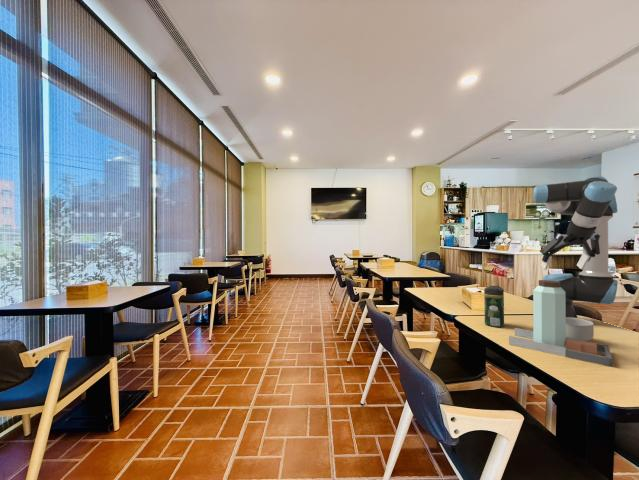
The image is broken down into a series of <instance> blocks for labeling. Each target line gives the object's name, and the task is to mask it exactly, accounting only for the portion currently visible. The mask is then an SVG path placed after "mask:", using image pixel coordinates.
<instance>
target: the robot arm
mask: <svg viewBox="0 0 639 480" xmlns="http://www.w3.org/2000/svg"><path fill="white" fill-rule="evenodd" d="M617 190H618V187H617V186H616V185H615V184H614V183H611V182H610V181H608V179H607V178H606V177H604V176H603V175H602V176H601V175H593V176H589V177H587V178H585V179H584V180H577V181H576V180H575V181H569V182H561V183H560V182H559V183H550V184H549V183H548V184H541V185H536V186H534V188H533V202H534V203H535V204H544V206H545V208H546V209H547V210H548V211H549V212H551V213H554V214H559V215H565V216H572V217H571V220H570V222H569V224H568V227H567V230H566V233H565V234H561V233H559V232H557V233H556V234H555V236H554V237H553V238H552V239H551V240H550V241H548V243H547V244H546V245H544V247H542V248H541V249H540V250H539V252H540V253H541V254H542V255H543V256H542V259H541V261H542V262H541V264H540V267H542V269H544V270H547V269H548V267H549V266H550V263H551V262H552V261H551V260H552V259H553V255H555V254H556V253H558V252H560V251H561V250H563V249H564V248H568V247H570V246H580V245H581V246H582V254H581V256H580V257H579V260H578V262H577V264H576V266H577V267H578V268H579V269H581V270H582V271H581V272H579V273H578V276H574V275H573V274H572V273H552V274H551V273H550V274H546V275H544V276H543V278H542V280H551V281H559V282H560V287H561V288H562V289H563V290H564V291H565V304H566V317H569V318H578V315H577V313H576V311H575V308H574V305H573V303H574V302H582V303H583V302H584V303H592V304H593V303H594V304H598V305H601V304H602V305H603V304H604V305H611V304H613V303H615V300H616V297H617V296H616V295H617V291H618V285H619V284H618V283H619V281H618V280H617V279H615V278H614V275H613V274H611V272H609V221H610V220H611V219H612V218H613V217H614V214H616V213H618V204H617V199H616V195H615V194H616V192H617ZM573 301H574V302H573Z"/></svg>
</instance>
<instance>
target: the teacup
mask: <svg viewBox="0 0 639 480" xmlns="http://www.w3.org/2000/svg"><path fill="white" fill-rule="evenodd" d="M594 325H595V323H594V322H593V321H590V320H588V319H585V318H584V319H583V318H569V317H566V337H567V338H570V339H576V340H581V341H587V342H591V341H592V340H593V338H594V334H595V332H594Z"/></svg>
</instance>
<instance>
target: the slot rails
mask: <svg viewBox="0 0 639 480" xmlns="http://www.w3.org/2000/svg"><path fill="white" fill-rule="evenodd" d="M566 339H567V337H566ZM508 345H510V346H514V347H519V348H525V349H529V350H532V351H533V350H534V351H539V352H543V353H548V354H552V355H557V356H561V357H565V349H566V346H565V347H564V346H558V345H553V344H548V343H543V342H538V341H533V330H530V329H524V328H519V327H514V336H513V335H512V336H511V335H509V336H508Z"/></svg>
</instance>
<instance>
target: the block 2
mask: <svg viewBox="0 0 639 480" xmlns="http://www.w3.org/2000/svg"><path fill="white" fill-rule="evenodd" d="M591 342H592V341H588V342H586V341H581V352H584V353H590V354H595V355H598V351H597V345H596V343H597V342H593V343H591Z"/></svg>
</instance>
